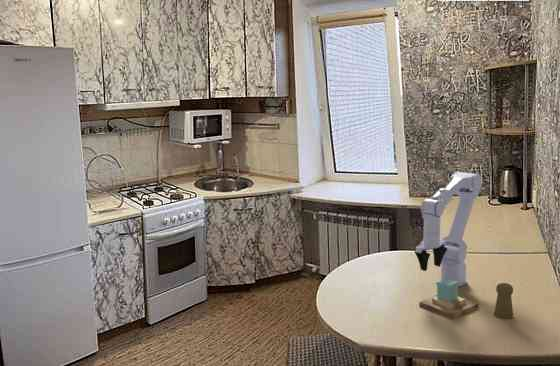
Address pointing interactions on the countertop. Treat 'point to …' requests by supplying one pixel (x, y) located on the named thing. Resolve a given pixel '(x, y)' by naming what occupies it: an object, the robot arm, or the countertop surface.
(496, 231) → the countertop surface
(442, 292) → the teal block
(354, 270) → the countertop surface
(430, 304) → the walnut stand
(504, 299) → the salt shaker
